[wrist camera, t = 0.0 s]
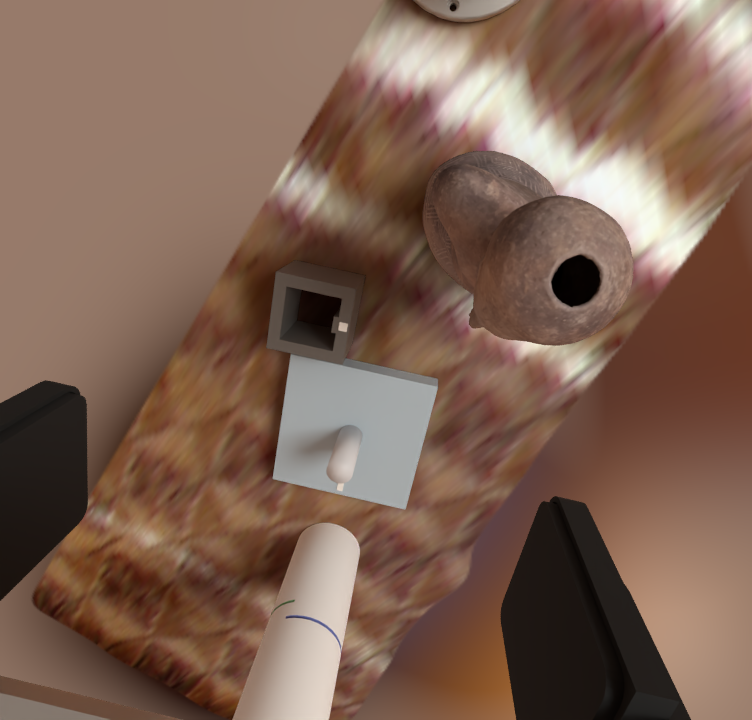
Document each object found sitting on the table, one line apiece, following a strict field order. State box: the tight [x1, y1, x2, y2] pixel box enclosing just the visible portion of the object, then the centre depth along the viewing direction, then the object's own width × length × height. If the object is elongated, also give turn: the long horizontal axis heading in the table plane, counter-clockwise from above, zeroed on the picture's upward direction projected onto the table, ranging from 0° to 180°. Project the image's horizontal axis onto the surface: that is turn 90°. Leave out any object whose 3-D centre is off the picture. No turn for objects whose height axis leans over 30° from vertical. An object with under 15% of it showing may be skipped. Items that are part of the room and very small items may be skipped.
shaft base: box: [273, 354, 438, 509], centre depth 47 cm, size 14×14×8 cm
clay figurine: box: [423, 151, 633, 345], centre depth 31 cm, size 13×10×25 cm
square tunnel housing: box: [266, 260, 366, 365], centre depth 44 cm, size 7×7×6 cm
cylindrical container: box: [233, 523, 360, 720], centre depth 45 cm, size 7×7×25 cm
